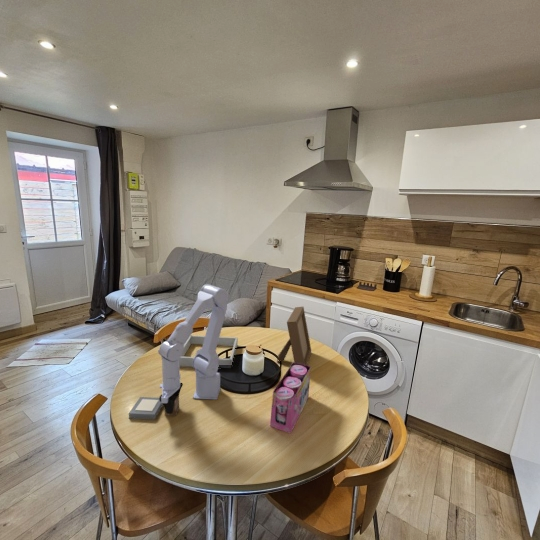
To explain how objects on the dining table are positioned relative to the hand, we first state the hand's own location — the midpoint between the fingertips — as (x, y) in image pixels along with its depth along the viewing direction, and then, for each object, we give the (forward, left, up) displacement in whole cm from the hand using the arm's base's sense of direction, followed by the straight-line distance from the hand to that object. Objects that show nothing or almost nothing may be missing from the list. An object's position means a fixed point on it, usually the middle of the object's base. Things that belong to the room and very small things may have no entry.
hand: (171, 407), depth 106 cm
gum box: (-44, -4, -2) cm, 44 cm away
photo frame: (-48, -42, -2) cm, 63 cm away
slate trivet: (+9, 0, -1) cm, 9 cm away
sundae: (-30, -28, -2) cm, 40 cm away
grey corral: (-4, -42, -1) cm, 43 cm away
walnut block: (0, 0, -2) cm, 2 cm away
